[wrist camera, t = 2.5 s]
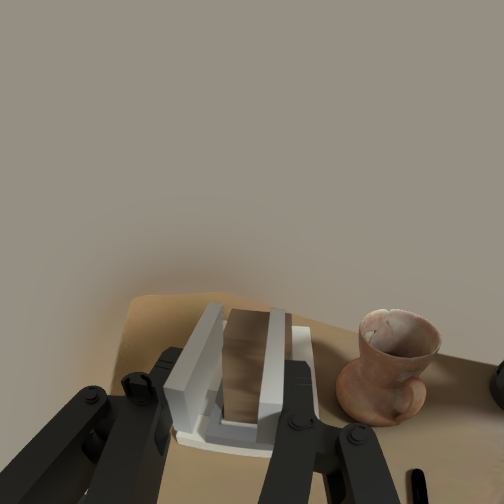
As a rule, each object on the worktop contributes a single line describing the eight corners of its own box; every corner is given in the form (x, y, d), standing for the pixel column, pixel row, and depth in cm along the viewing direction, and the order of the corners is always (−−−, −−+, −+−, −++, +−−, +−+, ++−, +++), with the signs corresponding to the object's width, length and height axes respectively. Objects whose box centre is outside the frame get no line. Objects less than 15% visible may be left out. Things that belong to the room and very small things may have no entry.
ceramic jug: (324, 370, 43) (338, 300, 39) (395, 364, 43) (417, 299, 38) (342, 454, 26) (376, 385, 22) (430, 435, 26) (475, 365, 21)
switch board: (308, 334, 54) (310, 318, 53) (318, 458, 26) (325, 443, 25) (222, 327, 56) (222, 311, 55) (178, 443, 28) (173, 427, 26)
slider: (280, 394, 35) (291, 313, 31) (278, 425, 30) (292, 343, 25) (232, 390, 36) (231, 308, 32) (224, 420, 30) (221, 337, 26)
